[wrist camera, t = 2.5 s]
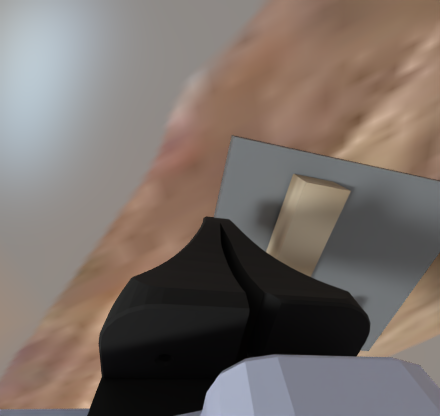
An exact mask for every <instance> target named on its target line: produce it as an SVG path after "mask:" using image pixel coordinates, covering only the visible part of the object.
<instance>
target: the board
mask: <svg viewBox="0 0 440 416" xmlns="http://www.w3.org/2000/svg"><path fill="white" fill-rule="evenodd" d="M293 174H297V175H302V176H307V177H312V178H317V179H322V180H327V181H332V182H335V183H336V184H338V185H340V186H342V187H344V188H346V189H348V190H350V191H351V192H350V194H349V196H348V198H347V200H346V203H345V205H344V207H343V209H342V211H341V213H340V215H339V217H338V220H337V222H336V224H335V226H334V228H333V230H332V232H331V235H330V237H329V239H328V241H327V243H326V245H325V247H324V249H323V252H322V254H321V256H320V258H319V260H318V262H317V264H316V266H315V269H314V271H313V273H312V275H311V277H312V278H314V279H316V280H319V281H321V282H324V283H326V284H329V285H332V286H335V287H337V288H340V289H343V290H345V291H348V292H349V293H350V294H351V295H352V296H353V298H354V299H355V300H356V301H357V303H358V304H359V305H360V306H361V307H362V309H363V310H364V311H365V312H366V314H367V315H368V317H369V320H370V323H371V324H370V333H369V336H368V338H367V340H366V342H365V344H364V345H363V347H362V348H361V350H362V351H369V350H370V348H371V347H372V345H373V344H374V343H375V341H376V340H377V339H378V337H379V336H380V334H381V333H382V332H383V330H384V329H385V327H386V326H387V325H388V323H389V322H390V321H391V319H392V318H393V316H394V315H395V314H396V312H397V311H398V309H399V308H400V307H401V305H402V304H403V303H404V301H405V300H406V298H407V297H408V296H409V294H410V293H411V291H412V290H413V289H414V287H415V286H416V284H417V283H418V282H419V280H420V279H421V278H422V276H423V275H424V273H425V272H426V271H427V269H428V268H429V266H430V265H431V264H432V262H433V261H434V260H435V258H436V257H437V255H438V254H439V253H440V181H439V180H434V179H429V178H425V177H420V176H416V175H411V174H407V173H402V172H398V171H393V170H388V169H384V168H379V167H375V166H370V165H366V164H361V163H356V162H352V161H347V160H343V159H338V158H334V157H329V156H325V155H320V154H315V153H311V152H306V151H302V150H297V149H293V148H288V147H283V146H279V145H274V144H270V143H265V142H261V141H256V140H251V139H247V138H242V137H238V136H233V135H232V137H231V142H230V146H229V151H228V155H227V160H226V164H225V169H224V173H223V178H222V182H221V187H220V191H219V196H218V200H217V205H216V209H215V214H214V218H224V219H230V220H231V221H232V222H233V223H234V224H235V225H236V226H237V227H238V228H239V229H240V230H241V231H242V232H243V233H244V234H245V235H246V236H247V237H248V238H249V239H251V240H252V241H253V242H254V243H255V244H256V245H258V246H259V247H260V248H261V249H263V250H264V251H265V252H266V250H267V248H268V245H269V242H270V239H271V236H272V233H273V230H274V228H275V225H276V222H277V219H278V216H279V213H280V210H281V208H282V205H283V202H284V199H285V196H286V193H287V190H288V188H289V185H290V182H291V179H292V176H293Z"/></svg>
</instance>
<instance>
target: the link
mask: <svg viewBox="0 0 440 416" xmlns="http://www.w3.org/2000/svg"><path fill="white" fill-rule="evenodd" d="M350 192H351V191H350V190H348V189H346V188H344V187H342V186H340V185H338V184H336V183H335V182H332V181H327V180H322V179H317V178H312V177H307V176H302V175H297V174H293V176H292V179H291V182H290V185H289V188H288V190H287V193H286V196H285V199H284V202H283V205H282V208H281V210H280V213H279V216H278V219H277V222H276V225H275V228H274V230H273V233H272V236H271V239H270V242H269V245H268V248H267V250H266V252H267V253H268V254H270V255H271V256H273V257H274V258H276V259H277V260H279V261H281V262H282V263H284V264H286V265H288V266H289V267H291V268H293V269H295V270H297V271H299V272H301V273H303V274H305V275H307V276H310V277H311V275H312V273H313V271H314V269H315V266H316V264H317V262H318V260H319V258H320V256H321V254H322V252H323V249H324V247H325V245H326V243H327V241H328V239H329V237H330V235H331V232H332V230H333V228H334V226H335V224H336V222H337V220H338V217H339V215H340V213H341V211H342V209H343V207H344V205H345V203H346V200H347V198H348V196H349V194H350Z"/></svg>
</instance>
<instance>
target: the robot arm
mask: <svg viewBox="0 0 440 416" xmlns="http://www.w3.org/2000/svg"><path fill="white" fill-rule="evenodd" d="M370 324H371V323H370V320H369V317H368V315H367V314H366V312H365V311H364V310H363V309H362V307H361V306H360V305H359V304H358V303H357V301H356V300H355V299H354V298H353V296H352V295H351V294H350V293H349V292H348V291H345V290H343V289H340V288H337V287H335V286H332V285H329V284H326V283H324V282H321V281H319V280H316V279H314V278H312V277H310V276H307V275H305V274H303V273H301V272H299V271H297V270H295V269H293V268H291V267H289V266H288V265H286V264H284V263H282V262H281V261H279V260H277V259H276V258H274V257H273V256H271V255H270V254H268V253H267V252H265V251H264V250H263V249H261V248H260V247H259V246H258V245H256V244H255V243H254V242H253V241H252V240H251V239H249V238H248V237H247V236H246V235H245V234H244V233H243V232H242V231H241V230H240V229H239V228H238V227H237V226H236V225H235V224H234V223H233V222H232V221H231V220H230V219H224V218H214V217H205V218H203V223H202V225H201V227H200V229H199V230H198V232H197V234H196V235H195V236H194V237H193V239H192V240H191V241H190V242H189V243H188V244H187V245H186V246H185V247H184V248H183V249H182V250H181V251H180V252H179V253H177V254H176V255H175V256H174V257H172V258H171V259H170V260H168V261H166V262H165V263H163V264H161V265H159V266H158V267H156V268H154V269H151V270H149V271H147V272H144V273H142V274H140V275H137V276H134V277H132V278H131V279H130V281H129V282H128V283H127V285H126V286H125V288H124V289H123V290H122V292H121V293H120V295H119V297H118V298H117V300H116V301H115V303H114V305H113V306H112V308H111V310H110V312H109V314H108V317H107V319H106V321H105V323H104V325H103V327H102V330H101V332H100V337H99V352H100V362H101V372H102V378H101V381H100V383H99V386H98V388H97V391H96V394H95V396H94V399H93V402H92V404H91V407H90V409H0V416H440V388H439V387H438V386H437V385H436V383H435V382H434V381H433V380H432V379H431V378H430V376H429V375H428V374H427V373H426V372H425V371H424V369H422V367H421V366H420V365H418V364H414V363H411V362H407V361H403V360H399V359H396V358H392V357H356V356H357V355H358V353H359V352H360V350H361V348H362V347H363V345H364V344H365V342H366V340H367V338H368V336H369V333H370Z"/></svg>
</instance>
